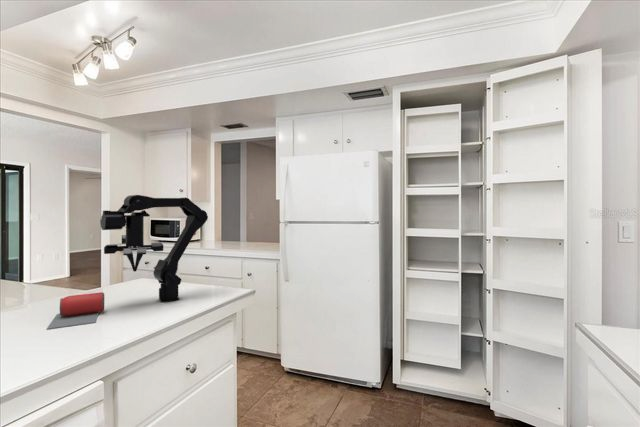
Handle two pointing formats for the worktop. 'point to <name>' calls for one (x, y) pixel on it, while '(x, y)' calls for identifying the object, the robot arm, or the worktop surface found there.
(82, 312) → the beer can
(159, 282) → the robot arm
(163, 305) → the worktop surface
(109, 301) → the worktop surface
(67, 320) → the mat
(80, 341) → the worktop surface
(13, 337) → the worktop surface
